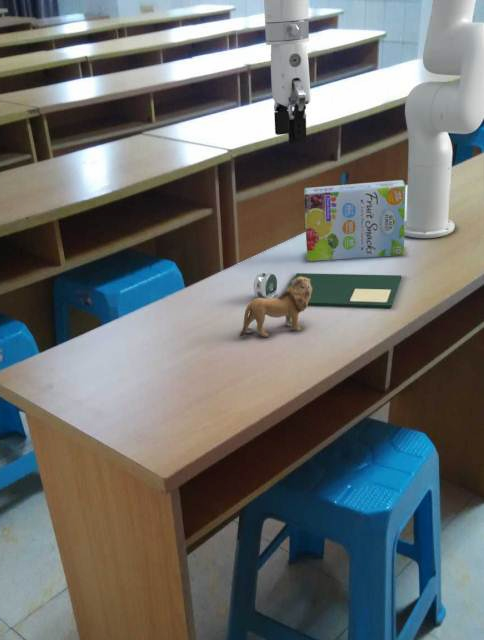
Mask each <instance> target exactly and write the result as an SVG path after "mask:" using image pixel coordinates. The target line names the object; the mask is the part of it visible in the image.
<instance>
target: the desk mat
mask: <svg viewBox="0 0 484 640" xmlns="http://www.w3.org/2000/svg"><path fill="white" fill-rule="evenodd" d="M297 277H306V278H307V279H310V284H311V286H312V293H311V299H310V301H309V302H308V305H307V306H315V307H317V306H318V307H319V306H320V307H347V308H348V307H349V308H373V309H392V306H393V304H394V301H395V298H396V295H397V292H398V289H399V286H400V282H401V280H402V275H400V274H399V275H397V274H396V275H395V274H391V275H390V274H388V275H387V274H353V273H352V274H351V273H350V274H349V273H345V274H344V273H304V272H301V273H300V272H299V273H298V272H297V273H296V274H295V275H294V277H293V278H292V280H291V282H292V281H293V280H294V279H296V278H297ZM291 282H290V283H289V284H288V286H287V288H286V289H285V291H286V290H287V289H288V288H289V287H290V286H291V285H292V283H291ZM285 291H284V292H283V293H285Z"/></svg>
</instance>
